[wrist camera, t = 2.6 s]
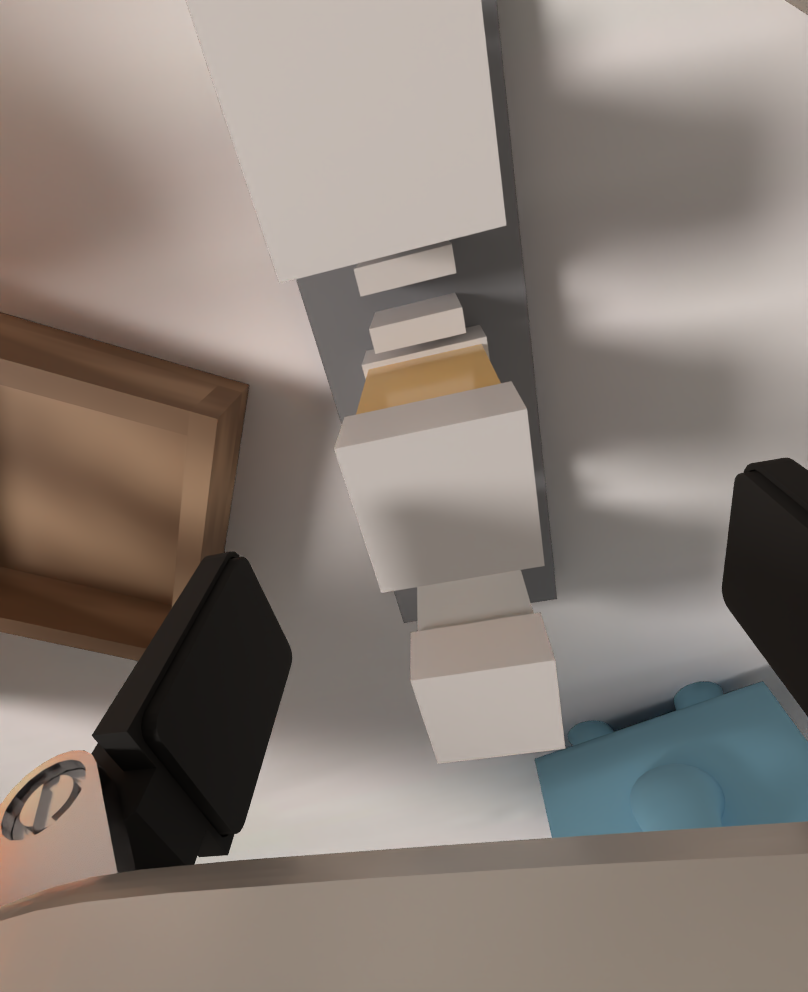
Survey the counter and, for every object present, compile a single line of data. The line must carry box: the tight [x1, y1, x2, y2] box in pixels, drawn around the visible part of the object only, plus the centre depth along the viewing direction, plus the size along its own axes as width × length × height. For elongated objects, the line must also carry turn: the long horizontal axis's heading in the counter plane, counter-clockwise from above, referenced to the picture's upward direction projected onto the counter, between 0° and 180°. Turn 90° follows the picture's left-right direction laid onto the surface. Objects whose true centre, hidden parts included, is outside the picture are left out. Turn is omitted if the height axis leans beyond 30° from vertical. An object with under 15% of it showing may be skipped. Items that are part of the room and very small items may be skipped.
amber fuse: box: [334, 325, 545, 593], centre depth 16 cm, size 4×4×9 cm
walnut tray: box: [0, 313, 249, 661], centre depth 22 cm, size 14×14×4 cm
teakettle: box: [535, 681, 808, 838], centre depth 27 cm, size 19×19×15 cm
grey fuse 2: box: [410, 570, 565, 764], centre depth 20 cm, size 4×4×9 cm
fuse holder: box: [296, 0, 557, 623], centre depth 19 cm, size 24×8×4 cm, turn 13°
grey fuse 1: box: [186, 0, 506, 283], centre depth 12 cm, size 4×4×9 cm
